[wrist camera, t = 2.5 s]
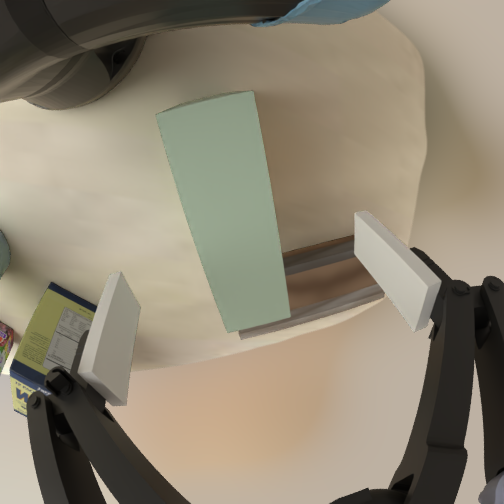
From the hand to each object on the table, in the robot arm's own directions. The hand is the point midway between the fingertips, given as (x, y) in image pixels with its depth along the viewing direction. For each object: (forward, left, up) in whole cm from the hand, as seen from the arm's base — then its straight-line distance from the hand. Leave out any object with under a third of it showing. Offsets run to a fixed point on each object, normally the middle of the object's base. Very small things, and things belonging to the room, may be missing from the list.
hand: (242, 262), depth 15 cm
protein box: (+16, -29, -17) cm, 37 cm away
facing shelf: (+17, +8, -16) cm, 25 cm away
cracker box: (0, 0, -16) cm, 16 cm away
